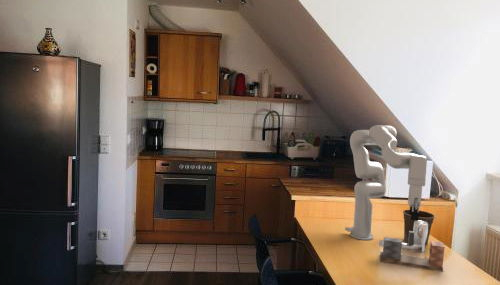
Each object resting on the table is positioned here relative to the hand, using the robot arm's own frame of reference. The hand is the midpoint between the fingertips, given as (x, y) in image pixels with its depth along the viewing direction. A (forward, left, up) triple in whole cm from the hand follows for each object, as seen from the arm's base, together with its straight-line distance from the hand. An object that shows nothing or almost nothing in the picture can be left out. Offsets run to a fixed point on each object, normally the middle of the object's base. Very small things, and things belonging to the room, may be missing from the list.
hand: (413, 217), depth 190 cm
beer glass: (+6, +20, -22) cm, 31 cm away
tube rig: (0, 0, -22) cm, 22 cm away
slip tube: (-5, 0, -16) cm, 17 cm away
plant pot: (+6, +34, -22) cm, 41 cm away
